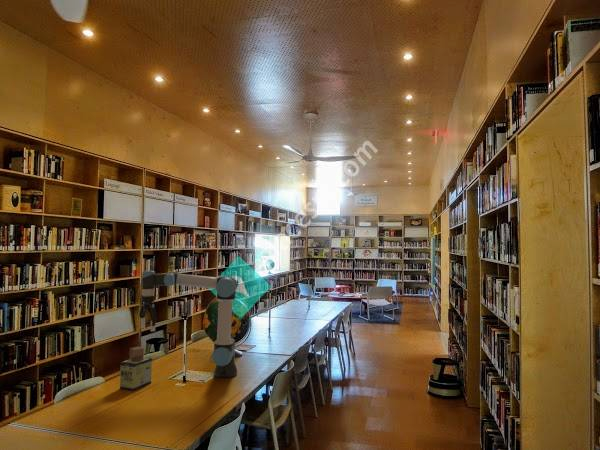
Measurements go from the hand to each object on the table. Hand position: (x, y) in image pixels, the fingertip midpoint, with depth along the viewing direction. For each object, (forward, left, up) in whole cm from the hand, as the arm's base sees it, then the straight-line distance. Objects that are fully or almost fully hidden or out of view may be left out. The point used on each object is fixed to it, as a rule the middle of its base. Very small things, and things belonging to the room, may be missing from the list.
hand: (147, 329), depth 257 cm
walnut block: (-3, +8, -17) cm, 19 cm away
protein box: (-3, +8, -32) cm, 33 cm away
